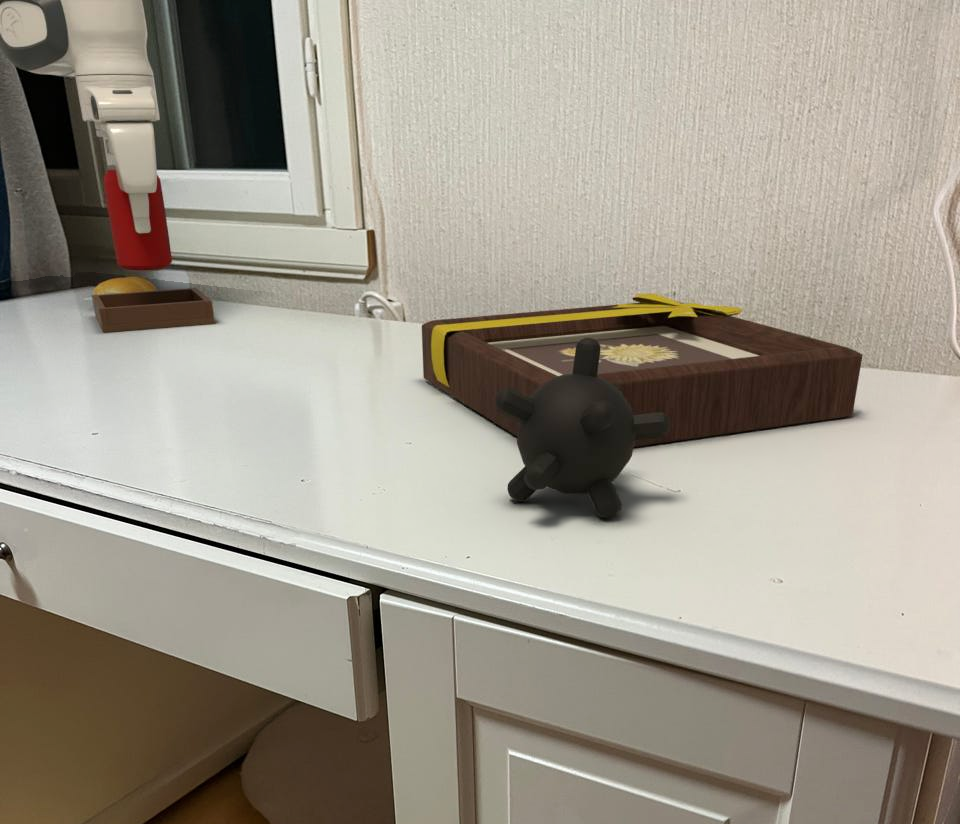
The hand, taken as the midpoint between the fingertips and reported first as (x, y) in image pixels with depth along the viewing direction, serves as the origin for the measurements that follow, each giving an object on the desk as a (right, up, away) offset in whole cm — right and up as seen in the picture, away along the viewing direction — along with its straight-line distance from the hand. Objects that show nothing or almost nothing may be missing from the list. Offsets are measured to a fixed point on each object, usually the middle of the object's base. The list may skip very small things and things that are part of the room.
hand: (139, 230), depth 124 cm
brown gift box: (+56, -30, -34) cm, 72 cm away
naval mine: (+49, -43, -59) cm, 88 cm away
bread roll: (-7, -5, +15) cm, 18 cm away
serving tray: (0, -10, +5) cm, 11 cm away
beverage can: (0, -4, +2) cm, 5 cm away
